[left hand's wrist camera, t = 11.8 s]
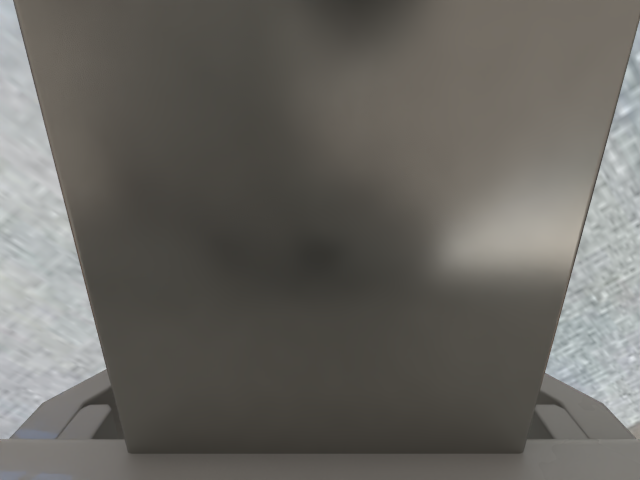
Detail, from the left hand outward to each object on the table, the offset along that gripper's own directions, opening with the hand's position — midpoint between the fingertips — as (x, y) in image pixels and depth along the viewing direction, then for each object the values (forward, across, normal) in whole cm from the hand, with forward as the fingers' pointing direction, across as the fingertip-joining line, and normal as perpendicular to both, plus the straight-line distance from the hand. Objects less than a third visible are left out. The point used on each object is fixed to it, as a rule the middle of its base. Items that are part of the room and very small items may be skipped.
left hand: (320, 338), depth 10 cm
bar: (+4, 0, -8) cm, 9 cm away
